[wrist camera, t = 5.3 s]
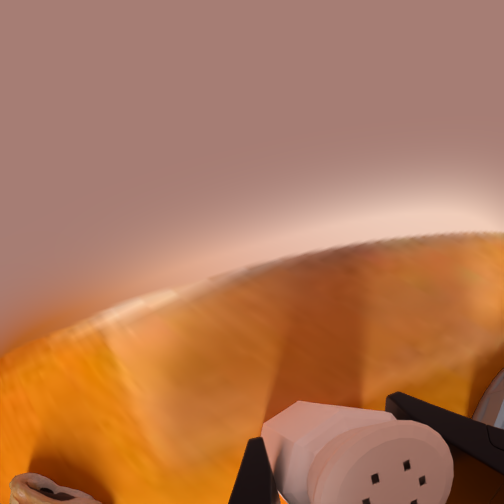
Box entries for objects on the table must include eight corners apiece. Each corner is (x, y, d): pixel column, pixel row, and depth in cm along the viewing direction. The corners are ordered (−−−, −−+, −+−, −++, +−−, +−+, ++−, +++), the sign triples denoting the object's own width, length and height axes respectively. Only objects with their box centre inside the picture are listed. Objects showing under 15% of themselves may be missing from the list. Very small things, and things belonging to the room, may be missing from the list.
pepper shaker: (348, 387, 15) (473, 315, 5) (369, 479, 12) (513, 526, 3) (244, 411, 14) (208, 389, 5) (265, 507, 12) (267, 629, 2)
